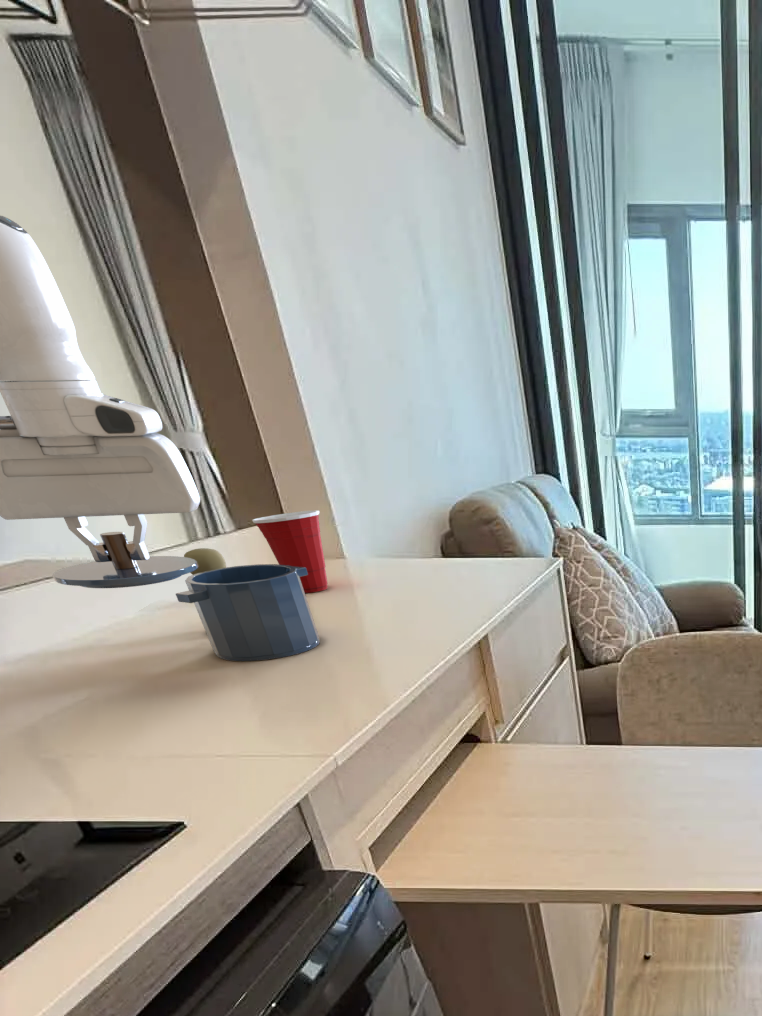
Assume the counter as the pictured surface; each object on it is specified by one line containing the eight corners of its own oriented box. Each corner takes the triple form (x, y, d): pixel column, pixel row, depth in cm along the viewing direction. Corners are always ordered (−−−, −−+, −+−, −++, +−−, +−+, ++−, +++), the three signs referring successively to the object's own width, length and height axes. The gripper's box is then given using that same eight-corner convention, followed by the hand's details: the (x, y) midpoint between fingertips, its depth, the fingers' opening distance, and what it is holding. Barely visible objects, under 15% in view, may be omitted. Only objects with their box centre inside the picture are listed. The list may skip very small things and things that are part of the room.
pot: (176, 660, 116) (143, 584, 110) (288, 627, 130) (264, 558, 124) (245, 670, 112) (215, 592, 106) (354, 635, 125) (332, 564, 119)
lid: (29, 585, 97) (6, 539, 94) (147, 563, 107) (130, 520, 104) (111, 596, 92) (90, 548, 89) (227, 572, 103) (211, 527, 100)
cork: (218, 637, 126) (185, 554, 119) (203, 631, 129) (170, 550, 122) (259, 629, 129) (229, 548, 122) (243, 623, 132) (213, 544, 125)
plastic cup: (308, 581, 157) (284, 507, 149) (355, 585, 154) (332, 508, 146) (263, 594, 149) (235, 516, 141) (311, 598, 146) (285, 518, 138)
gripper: (-67, 418, 85) (10, 570, 94) (157, 414, 90) (211, 560, 98) (-38, 415, 90) (32, 560, 99) (173, 411, 94) (223, 551, 103)
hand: (123, 560), depth 99 cm, fingers closed on lid, 2 cm apart
